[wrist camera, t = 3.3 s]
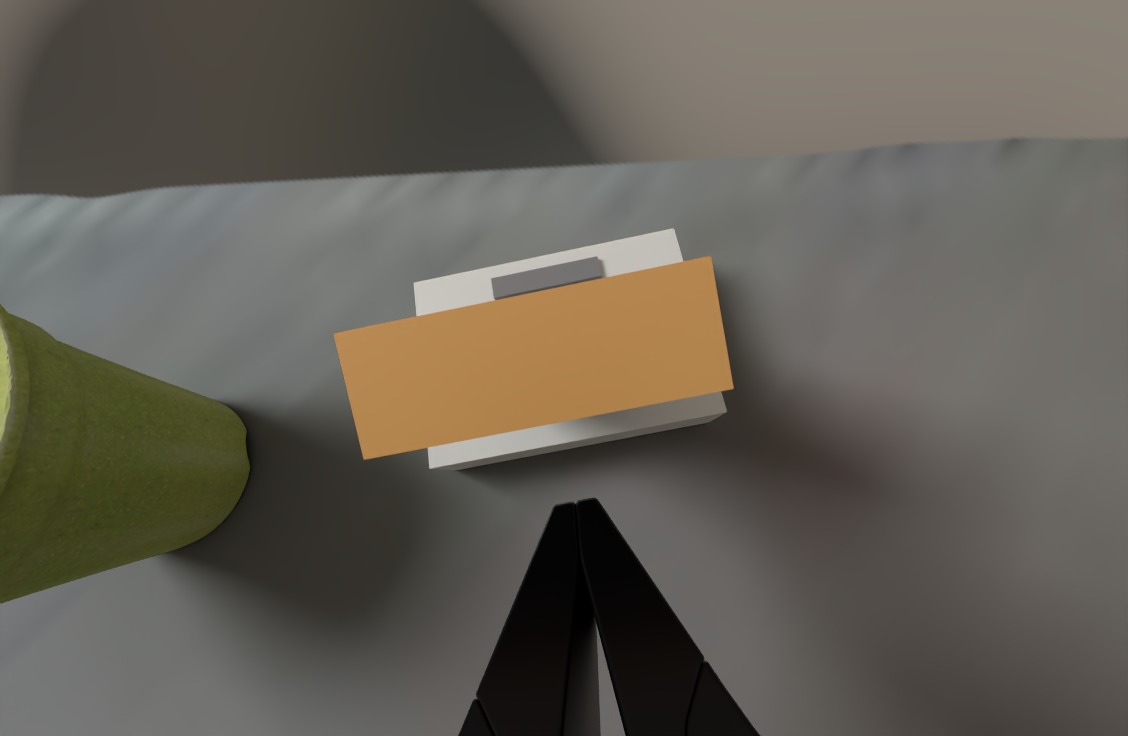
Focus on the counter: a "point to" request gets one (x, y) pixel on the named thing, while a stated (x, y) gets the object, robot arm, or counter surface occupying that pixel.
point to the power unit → (543, 277)
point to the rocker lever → (536, 359)
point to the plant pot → (102, 462)
